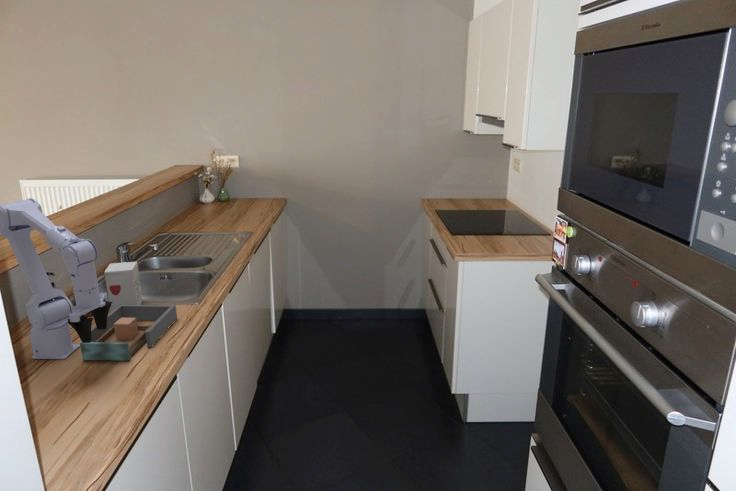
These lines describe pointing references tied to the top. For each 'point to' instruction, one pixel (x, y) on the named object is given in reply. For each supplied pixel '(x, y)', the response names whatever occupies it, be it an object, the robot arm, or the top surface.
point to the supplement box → (123, 284)
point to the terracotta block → (126, 328)
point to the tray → (113, 346)
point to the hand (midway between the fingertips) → (94, 335)
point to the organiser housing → (141, 319)
